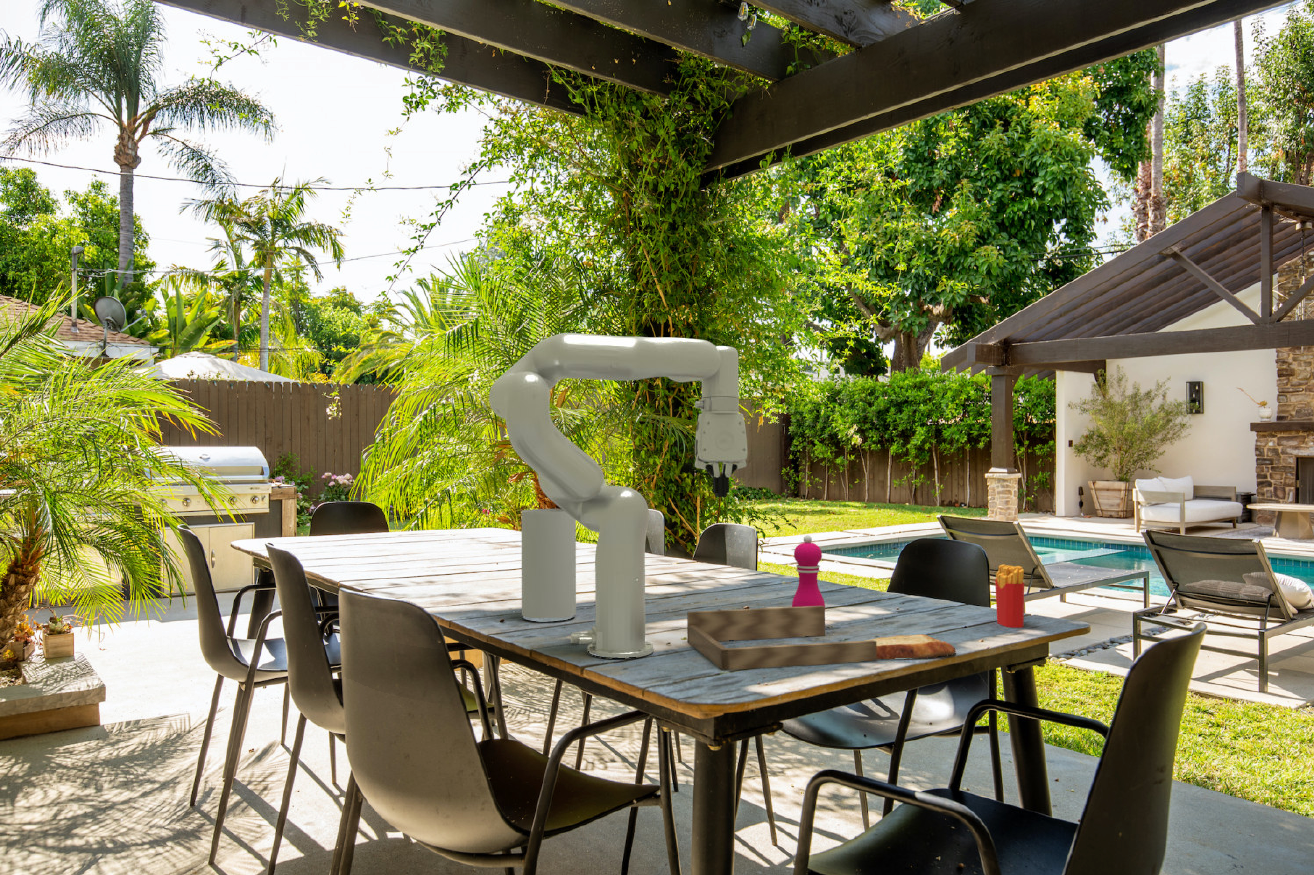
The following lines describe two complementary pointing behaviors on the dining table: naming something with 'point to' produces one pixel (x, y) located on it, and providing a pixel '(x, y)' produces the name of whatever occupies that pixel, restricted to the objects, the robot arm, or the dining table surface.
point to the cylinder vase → (548, 564)
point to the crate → (767, 625)
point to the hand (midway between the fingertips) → (720, 496)
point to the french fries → (1010, 596)
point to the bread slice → (911, 647)
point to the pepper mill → (807, 574)
